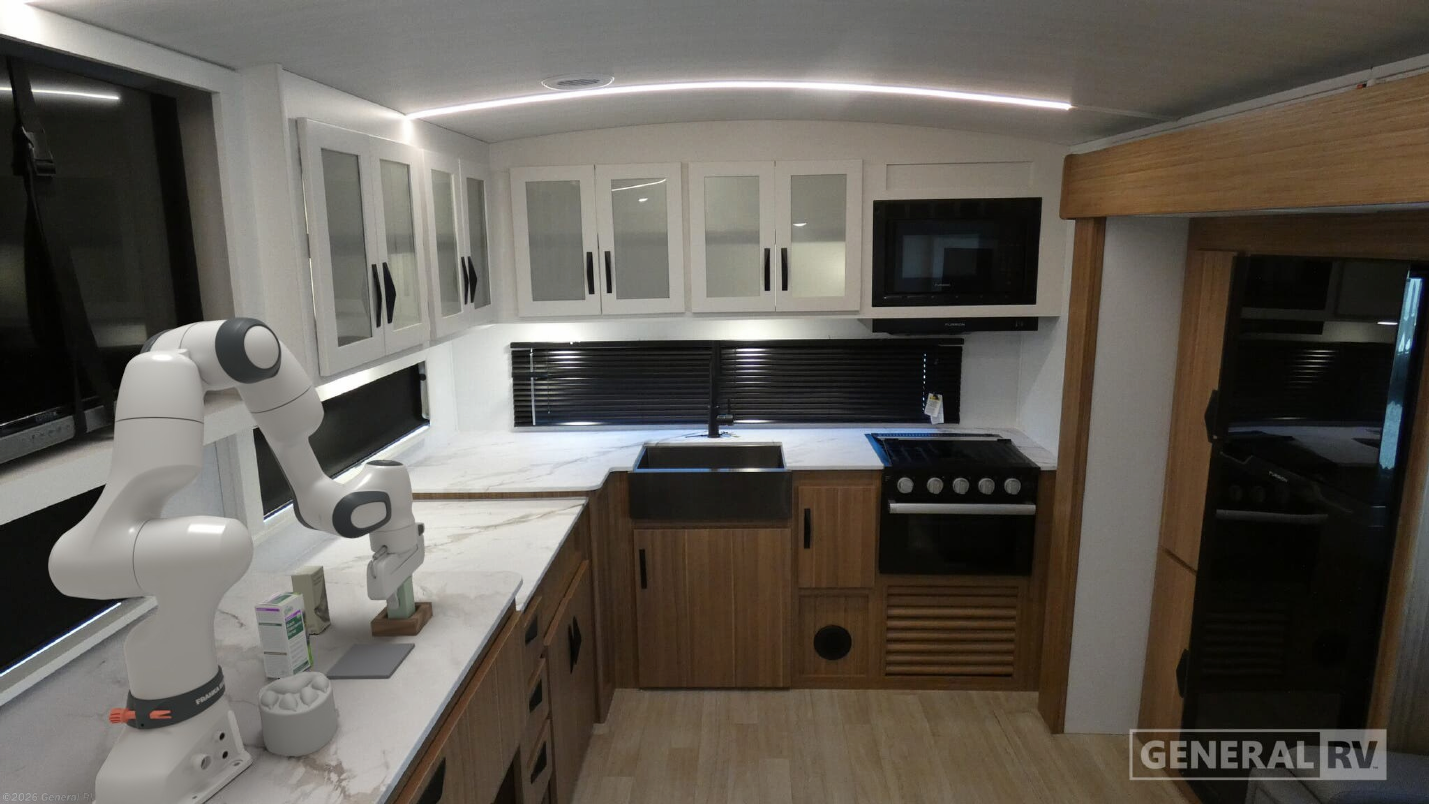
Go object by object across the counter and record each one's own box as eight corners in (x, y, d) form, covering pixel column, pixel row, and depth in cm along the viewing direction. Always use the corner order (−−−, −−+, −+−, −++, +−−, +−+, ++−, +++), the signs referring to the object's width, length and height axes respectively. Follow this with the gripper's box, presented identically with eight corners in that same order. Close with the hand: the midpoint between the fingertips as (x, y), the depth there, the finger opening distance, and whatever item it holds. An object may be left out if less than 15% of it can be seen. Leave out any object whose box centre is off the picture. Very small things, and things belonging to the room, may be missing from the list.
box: (319, 634, 167) (311, 574, 165) (297, 635, 167) (289, 575, 165) (331, 622, 172) (324, 564, 170) (310, 623, 172) (302, 565, 170)
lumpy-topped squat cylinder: (328, 706, 141) (321, 659, 139) (345, 741, 131) (339, 691, 129) (259, 728, 135) (252, 679, 133) (272, 767, 125) (264, 714, 123)
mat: (389, 678, 149) (388, 675, 149) (323, 679, 150) (323, 676, 150) (415, 646, 161) (414, 643, 161) (354, 646, 162) (354, 644, 161)
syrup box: (292, 680, 150) (282, 605, 147) (264, 677, 151) (253, 603, 148) (313, 664, 155) (304, 592, 152) (286, 662, 156) (276, 590, 154)
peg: (409, 629, 168) (403, 583, 166) (389, 630, 168) (384, 584, 166) (416, 620, 172) (411, 575, 170) (397, 621, 172) (392, 575, 170)
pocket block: (416, 635, 166) (414, 621, 165) (372, 635, 166) (370, 622, 165) (432, 615, 174) (431, 601, 174) (390, 615, 175) (389, 602, 174)
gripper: (387, 557, 156) (394, 625, 159) (427, 520, 176) (433, 581, 179) (354, 557, 156) (362, 625, 159) (398, 521, 176) (405, 582, 179)
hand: (400, 602), depth 169 cm, fingers closed on peg, 4 cm apart
